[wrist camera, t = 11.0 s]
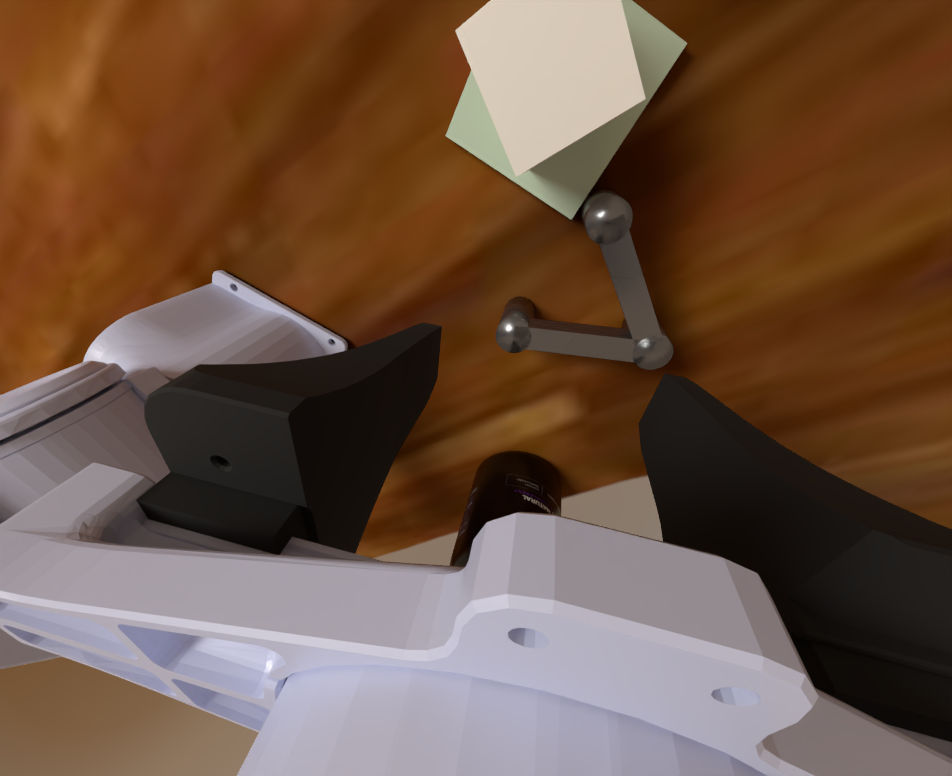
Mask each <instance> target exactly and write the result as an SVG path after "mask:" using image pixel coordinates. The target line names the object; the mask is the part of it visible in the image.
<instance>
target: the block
mask: <svg viewBox="0 0 952 776" xmlns="http://www.w3.org/2000/svg"><path fill="white" fill-rule="evenodd" d="M455 31H456V34H457V36H458V38H459V41H460V43H461V46H462V48H463V51H464V53H465V55H466V58H467V60H468V63H469V65H470V67H471V70H472V72H473V75H474V77H475V80H476V82H477V84H478V87H479V89H480V92H481V94H482V96H483V99H484V101H485V104H486V106H487V108H488V111H489V113H490V116H491V118H492V121H493V123H494V125H495V128H496V130H497V133H498V135H499V137H500V140H501V142H502V145H503V147H504V150H505V152H506V154H507V157H508V159H509V162H510V164H511V166H512V169H513V171H514V174H515V176H516V177H517V176H519V175H521V174H523V173H525V172H526V171H528V170H530V169H532V168H533V167H535V166H537V165H538V164H540V163H542V162H543V161H545V160H547V159H548V158H550V157H552V156H553V155H555V154H557V153H558V152H560V151H562V150H563V149H565V148H567V147H568V146H570V145H572V144H573V143H575V142H577V141H578V140H580V139H582V138H583V137H585V136H587V135H588V134H590V133H592V132H593V131H595V130H597V129H598V128H600V127H602V126H603V125H605V124H607V123H608V122H610V121H612V120H613V119H615V118H617V117H618V116H620V115H621V114H623V113H624V112H626V111H628V110H629V109H631V108H632V107H634V106H635V105H637V104H638V103H640V102H642V101H643V100H645V99H646V98H645V94H644V90H643V86H642V82H641V78H640V74H639V70H638V66H637V62H636V58H635V54H634V50H633V46H632V42H631V38H630V34H629V30H628V26H627V22H626V18H625V14H624V10H623V6H622V2H621V0H491V1H489V2H488V3H487V4H486V5H485V6H483V7H482V8H481V9H480V10H479V11H478V12H476V13H475V14H474V15H473V16H472V17H471V18H469V19H468V20H467V21H466V22H465V23H464V24H462V25H461V26H460V27H459V28H458V29H456V30H455Z"/></svg>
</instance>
